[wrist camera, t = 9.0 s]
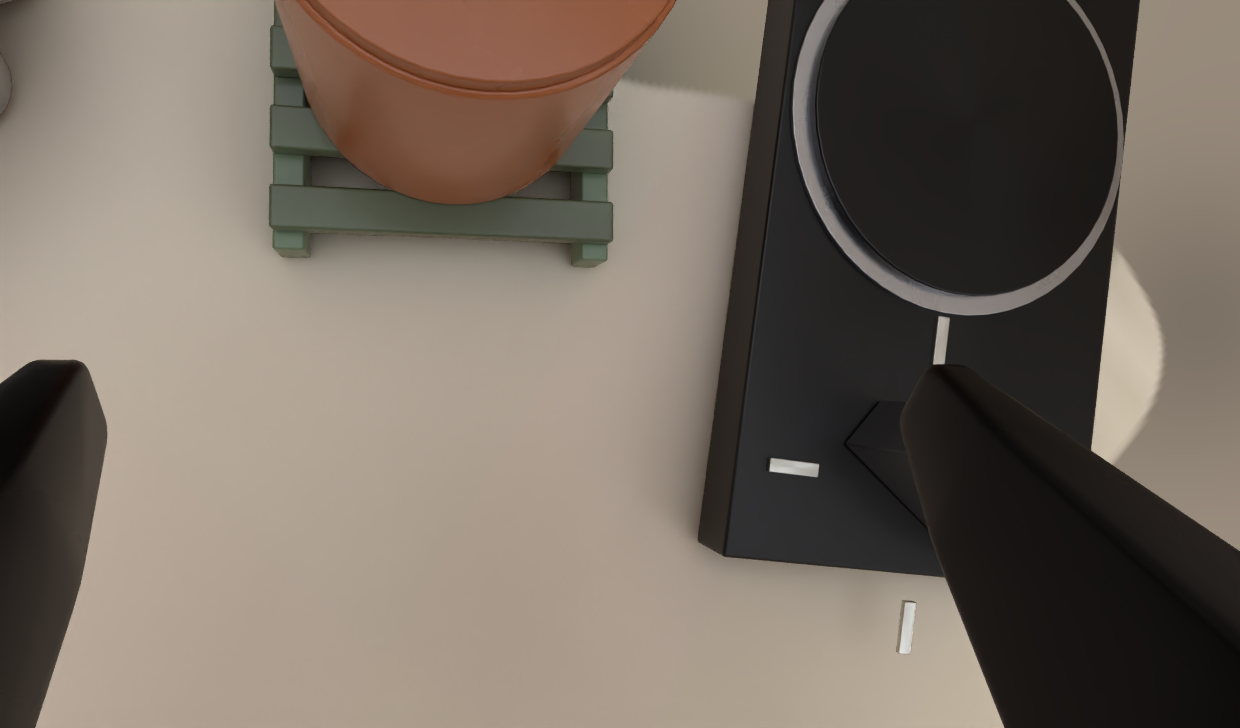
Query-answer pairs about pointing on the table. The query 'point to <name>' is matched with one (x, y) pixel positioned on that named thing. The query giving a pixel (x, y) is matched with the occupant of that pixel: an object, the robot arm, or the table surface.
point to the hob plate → (958, 144)
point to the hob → (864, 352)
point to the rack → (400, 215)
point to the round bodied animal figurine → (4, 79)
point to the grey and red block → (887, 452)
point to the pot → (461, 84)
